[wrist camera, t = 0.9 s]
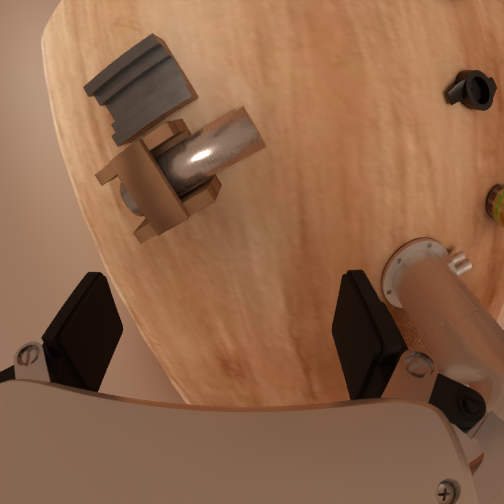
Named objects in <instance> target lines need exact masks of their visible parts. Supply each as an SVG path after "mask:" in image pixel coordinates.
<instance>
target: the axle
mask: <svg viewBox="0 0 504 504" xmlns="http://www.w3.org/2000/svg"><path fill="white" fill-rule="evenodd" d="M265 147H266V146H265V143H264V141H263V139H262V137H261V136H260V134H259V132H258V130H257V128H256V126H255V125H254V123H253V121H252V119H251V118H250V116H249V114H248V113H247V111H246V109H245V108H244V106H242V107H241V108H239V109H237V110H235V111H233V112H231V113H229V114H227V115H225V116H224V117H222V118H220V119H218V120H216V121H215V122H213V123H211V124H209V125H208V126H206V127H204V128H202V129H201V130H199V131H197V132H196V133H194V134H192V135H191V136H189V137H187V138H186V139H184V140H182V141H181V142H179V143H178V144H176V145H174V146H173V147H171V148H170V149H168V150H167V151H165V152H163V153H162V154H160V155H159V156H157V157H156V158H154V159H155V160H156V162H157V164H158V165H159V167H160V168H161V170H162V172H163V173H164V175H165V176H166V178H167V180H168V181H169V183H170V184H171V186H172V187H173V189H174V191H175V192H176V194H177V195H179V194H180V193H182V192H184V191H185V190H187V189H189V188H191V187H192V186H194V185H196V184H198V183H199V182H201V181H203V180H205V179H206V178H208V177H210V176H212V175H214V174H215V173H217V172H219V171H221V170H223V169H225V168H226V167H228V166H230V165H232V164H234V163H236V162H238V161H240V160H242V159H243V158H245V157H247V156H249V155H251V154H253V153H255V152H257V151H259V150H261V149H263V148H265ZM120 192H121V196H122V198H123V200H124V202H125V204H126V206H127V207H128V208H129V209H130V210H131V211H132V212H133V213H134V214H136V215H138V216H144V215H143V213H142V212H141V210H140V209H139V207H138V206H137V204H136V203H135V201H134V200H133V198H132V197H131V195H130V194H129V192H128V191H127V189H126V188H125V186H124V184H123V183H122V182H121V184H120Z"/></svg>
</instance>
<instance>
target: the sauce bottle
mask: <svg viewBox="0 0 504 504" xmlns="http://www.w3.org/2000/svg"><path fill="white" fill-rule="evenodd" d="M487 210H488V213H489V215H490V216H491V217H492V218H493V219H495V221H496V222H498V223H499V224H500V225H501V226H503V227H504V185H498V186H496V187H495V188H494V189H493V190H492V191H491V193H490V194H489V197H488V201H487Z"/></svg>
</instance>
